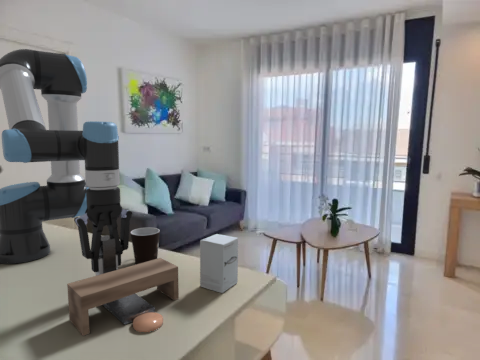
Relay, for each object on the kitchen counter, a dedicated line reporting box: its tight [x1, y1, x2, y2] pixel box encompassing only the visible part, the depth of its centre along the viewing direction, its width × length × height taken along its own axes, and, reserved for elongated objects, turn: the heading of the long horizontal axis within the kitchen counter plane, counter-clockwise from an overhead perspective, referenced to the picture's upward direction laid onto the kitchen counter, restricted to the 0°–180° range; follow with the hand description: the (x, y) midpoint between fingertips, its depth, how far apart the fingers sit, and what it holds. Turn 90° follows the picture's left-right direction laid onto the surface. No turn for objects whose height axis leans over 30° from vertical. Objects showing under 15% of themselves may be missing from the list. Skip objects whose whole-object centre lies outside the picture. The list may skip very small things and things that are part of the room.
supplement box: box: [199, 233, 239, 294], centre depth 87 cm, size 7×7×13 cm
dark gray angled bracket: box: [99, 234, 156, 326], centre depth 77 cm, size 18×7×14 cm, turn 44°
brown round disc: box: [132, 312, 164, 333], centre depth 69 cm, size 6×6×1 cm
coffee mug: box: [129, 227, 161, 265], centre depth 103 cm, size 12×9×10 cm
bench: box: [66, 257, 180, 337], centre depth 75 cm, size 8×22×8 cm, turn 134°
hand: (107, 280), depth 82 cm, fingers closed on dark gray angled bracket, 3 cm apart
